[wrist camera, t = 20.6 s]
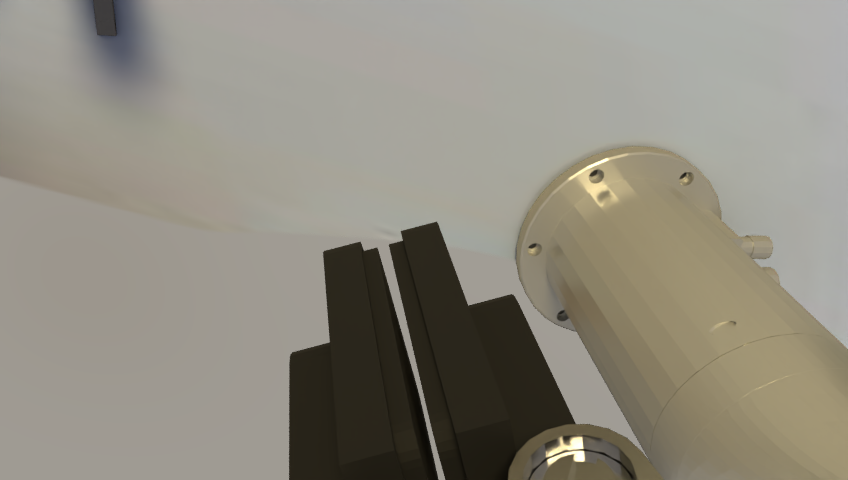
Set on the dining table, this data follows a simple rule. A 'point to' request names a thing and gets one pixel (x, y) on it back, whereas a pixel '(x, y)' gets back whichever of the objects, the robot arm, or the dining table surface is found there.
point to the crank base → (105, 17)
